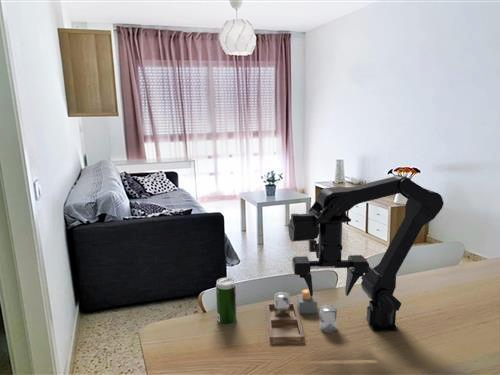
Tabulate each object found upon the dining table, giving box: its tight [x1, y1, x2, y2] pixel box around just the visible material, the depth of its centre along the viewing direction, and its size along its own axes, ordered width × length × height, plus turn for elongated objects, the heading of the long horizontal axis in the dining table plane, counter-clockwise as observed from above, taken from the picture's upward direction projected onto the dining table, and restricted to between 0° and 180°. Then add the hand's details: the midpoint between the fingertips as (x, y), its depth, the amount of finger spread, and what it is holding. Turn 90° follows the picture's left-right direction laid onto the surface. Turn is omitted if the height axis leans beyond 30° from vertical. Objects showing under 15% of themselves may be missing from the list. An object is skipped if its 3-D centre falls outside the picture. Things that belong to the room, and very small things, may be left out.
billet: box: [318, 304, 338, 334], centre depth 102 cm, size 4×4×6 cm
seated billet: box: [273, 291, 291, 317], centre depth 108 cm, size 4×4×6 cm
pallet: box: [265, 301, 306, 345], centre depth 105 cm, size 9×18×2 cm, turn 0°
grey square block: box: [296, 293, 318, 315], centre depth 112 cm, size 5×5×4 cm
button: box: [301, 288, 312, 301], centre depth 111 cm, size 3×3×2 cm
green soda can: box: [215, 277, 238, 326], centre depth 106 cm, size 5×5×12 cm
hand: (329, 295), depth 100 cm, fingers open, 9 cm apart
